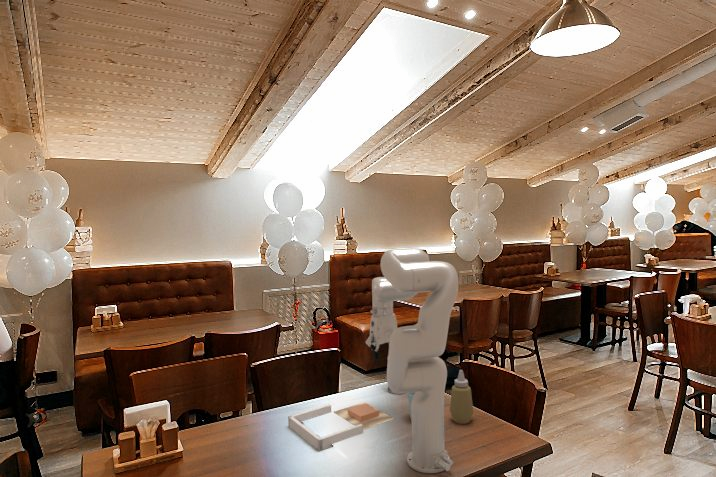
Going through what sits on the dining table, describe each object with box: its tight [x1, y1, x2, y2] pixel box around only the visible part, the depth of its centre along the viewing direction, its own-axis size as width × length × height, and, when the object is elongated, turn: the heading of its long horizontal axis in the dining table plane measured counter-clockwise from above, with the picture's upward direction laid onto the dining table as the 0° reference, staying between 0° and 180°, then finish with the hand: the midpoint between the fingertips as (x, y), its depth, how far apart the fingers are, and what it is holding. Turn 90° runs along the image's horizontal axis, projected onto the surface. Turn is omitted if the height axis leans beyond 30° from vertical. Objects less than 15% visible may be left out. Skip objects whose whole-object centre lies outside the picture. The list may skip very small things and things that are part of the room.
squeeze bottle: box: [449, 369, 474, 425], centre depth 166 cm, size 8×8×18 cm
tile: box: [348, 402, 380, 422], centre depth 171 cm, size 8×8×2 cm
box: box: [287, 404, 364, 452], centre depth 162 cm, size 21×17×4 cm
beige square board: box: [333, 401, 395, 431], centre depth 171 cm, size 18×14×1 cm
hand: (384, 358), depth 176 cm, fingers open, 6 cm apart
